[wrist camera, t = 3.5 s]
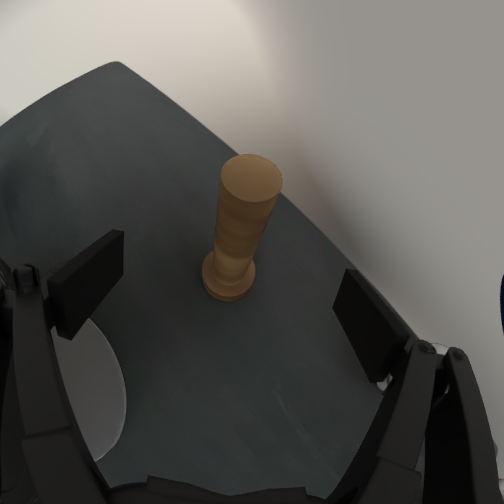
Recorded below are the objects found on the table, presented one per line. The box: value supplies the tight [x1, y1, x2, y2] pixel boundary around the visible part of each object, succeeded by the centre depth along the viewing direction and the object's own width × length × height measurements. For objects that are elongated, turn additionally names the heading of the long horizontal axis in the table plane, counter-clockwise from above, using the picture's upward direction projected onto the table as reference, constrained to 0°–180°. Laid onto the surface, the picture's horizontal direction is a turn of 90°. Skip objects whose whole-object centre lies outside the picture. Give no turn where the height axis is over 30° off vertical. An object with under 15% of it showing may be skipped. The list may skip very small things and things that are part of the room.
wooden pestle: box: [202, 154, 282, 301], centre depth 21 cm, size 5×5×16 cm
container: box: [0, 259, 127, 504], centre depth 13 cm, size 19×19×15 cm
